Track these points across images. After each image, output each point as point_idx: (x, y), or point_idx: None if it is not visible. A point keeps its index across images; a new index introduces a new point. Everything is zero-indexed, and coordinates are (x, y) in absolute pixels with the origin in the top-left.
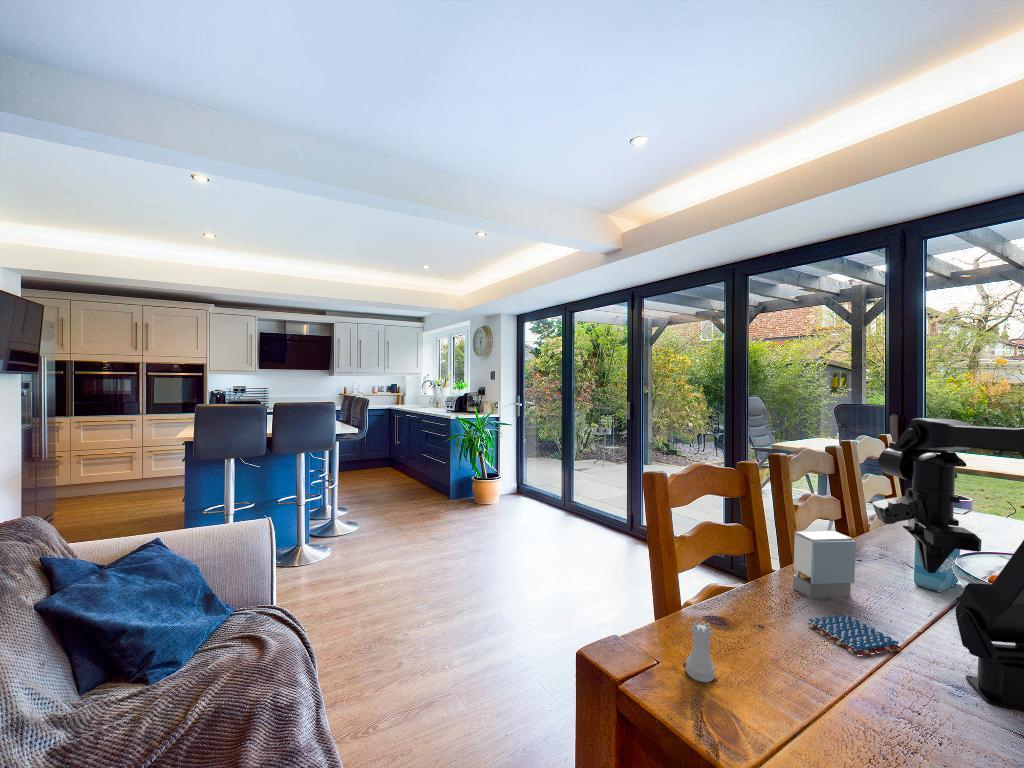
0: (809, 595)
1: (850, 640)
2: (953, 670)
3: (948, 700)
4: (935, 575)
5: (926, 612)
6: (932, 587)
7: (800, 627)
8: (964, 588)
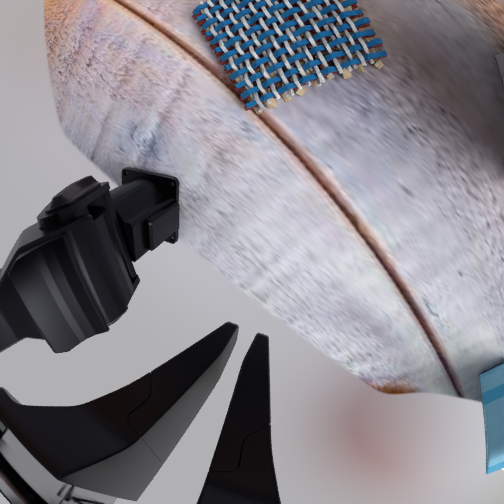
0: (500, 54)
1: (220, 1)
2: (201, 176)
3: (118, 114)
4: (487, 395)
5: (437, 307)
6: (487, 374)
7: None
8: (21, 256)
